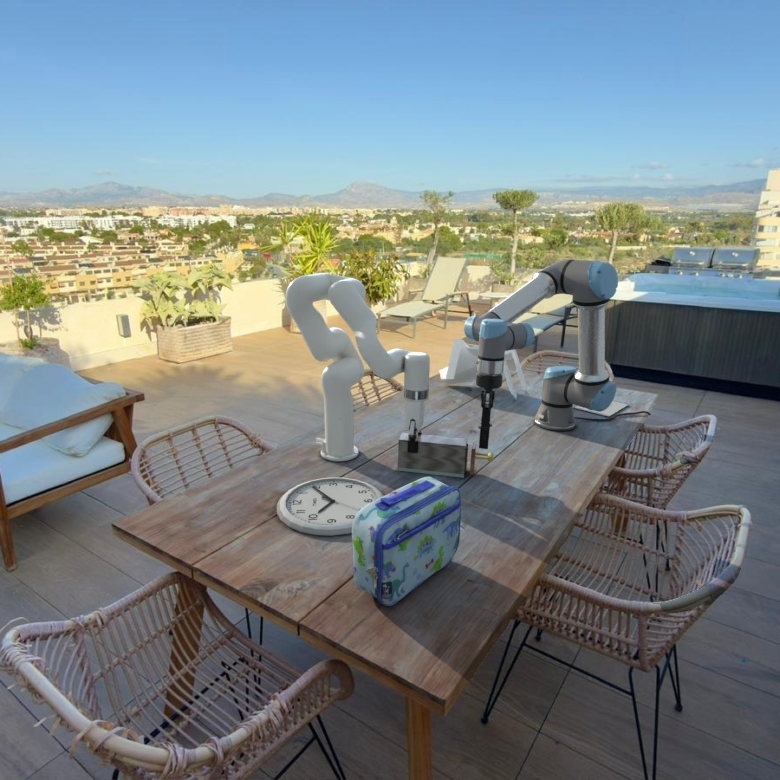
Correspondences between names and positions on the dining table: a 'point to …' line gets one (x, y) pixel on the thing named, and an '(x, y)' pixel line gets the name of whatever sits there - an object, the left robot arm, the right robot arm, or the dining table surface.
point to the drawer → (476, 457)
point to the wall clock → (325, 505)
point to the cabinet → (433, 455)
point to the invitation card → (609, 411)
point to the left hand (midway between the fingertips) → (414, 447)
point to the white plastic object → (466, 368)
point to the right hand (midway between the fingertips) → (483, 447)
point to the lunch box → (405, 538)
